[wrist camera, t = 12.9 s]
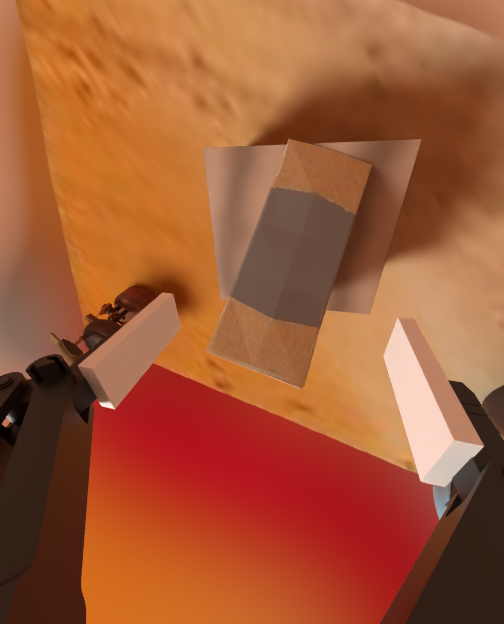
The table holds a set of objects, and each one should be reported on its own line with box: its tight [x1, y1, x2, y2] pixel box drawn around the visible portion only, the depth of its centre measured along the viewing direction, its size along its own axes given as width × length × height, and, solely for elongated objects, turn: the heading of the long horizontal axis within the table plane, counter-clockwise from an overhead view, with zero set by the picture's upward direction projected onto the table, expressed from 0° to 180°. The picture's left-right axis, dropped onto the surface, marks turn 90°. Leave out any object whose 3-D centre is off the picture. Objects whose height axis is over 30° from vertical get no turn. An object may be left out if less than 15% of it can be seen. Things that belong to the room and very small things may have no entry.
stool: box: [203, 139, 421, 314], centre depth 32 cm, size 20×18×12 cm
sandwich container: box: [206, 139, 372, 389], centre depth 21 cm, size 9×15×15 cm, turn 166°
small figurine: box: [49, 287, 157, 366], centre depth 48 cm, size 15×11×20 cm
